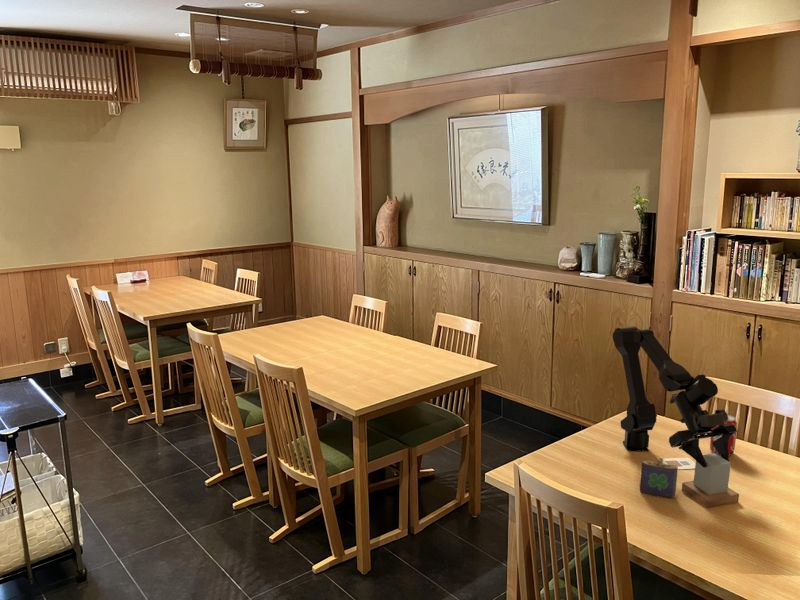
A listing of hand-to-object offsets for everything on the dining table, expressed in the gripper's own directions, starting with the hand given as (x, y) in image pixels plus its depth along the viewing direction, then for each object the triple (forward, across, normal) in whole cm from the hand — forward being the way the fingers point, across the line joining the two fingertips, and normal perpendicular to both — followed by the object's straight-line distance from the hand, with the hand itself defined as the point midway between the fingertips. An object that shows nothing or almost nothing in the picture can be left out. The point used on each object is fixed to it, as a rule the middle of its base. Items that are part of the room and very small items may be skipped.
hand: (716, 465), depth 175 cm
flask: (+3, -13, +12) cm, 18 cm away
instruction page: (-7, +5, +21) cm, 23 cm away
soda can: (-8, +24, +23) cm, 34 cm away
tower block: (+4, 0, +6) cm, 8 cm away
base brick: (+6, 0, +8) cm, 11 cm away
